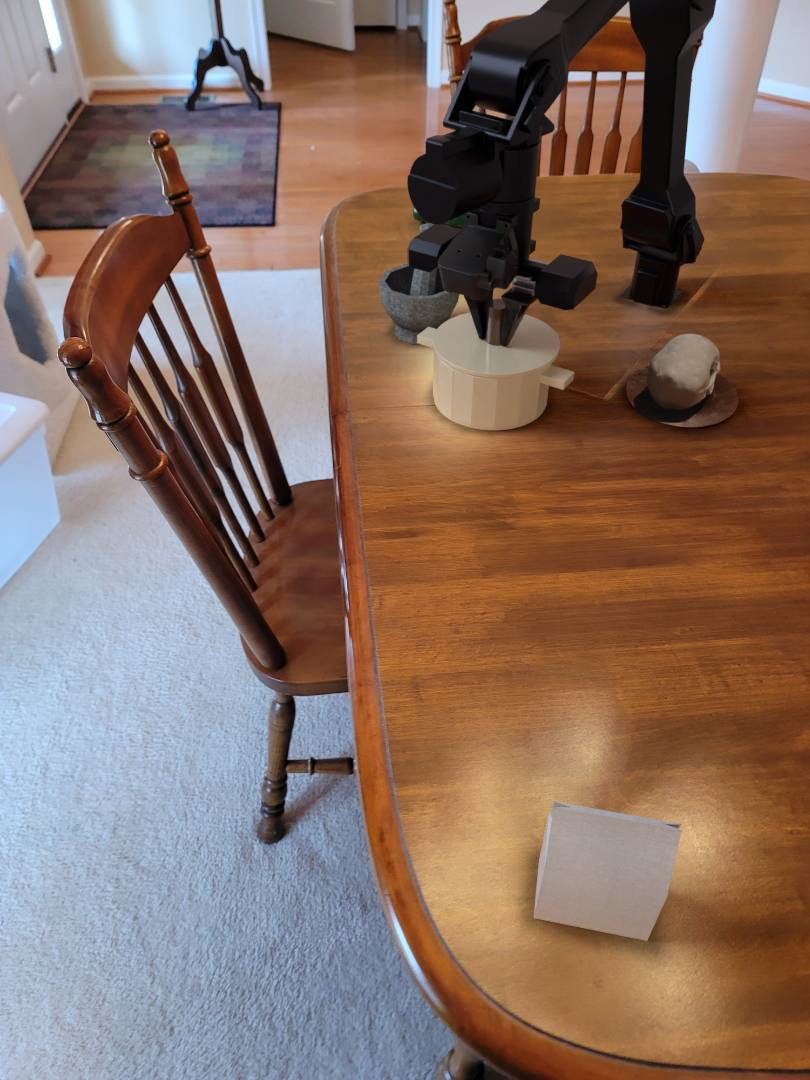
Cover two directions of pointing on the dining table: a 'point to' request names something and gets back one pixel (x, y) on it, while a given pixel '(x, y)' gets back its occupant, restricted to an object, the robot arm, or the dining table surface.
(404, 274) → the mortar and pestle
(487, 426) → the pot
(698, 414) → the skull
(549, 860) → the white rectangular box
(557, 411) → the dining table surface
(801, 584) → the dining table surface
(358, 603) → the dining table surface
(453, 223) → the green toy car
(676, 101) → the robot arm
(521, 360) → the lid
